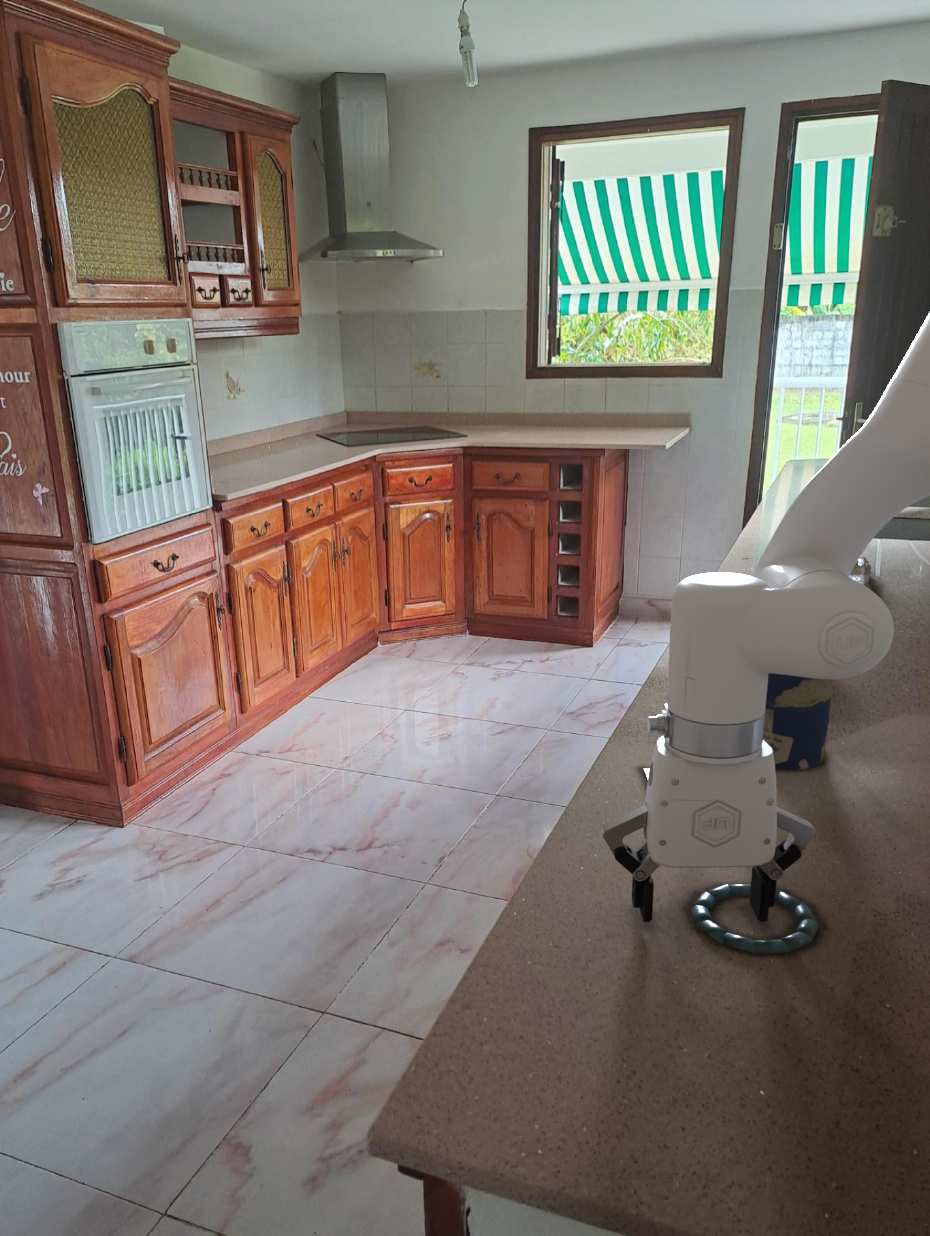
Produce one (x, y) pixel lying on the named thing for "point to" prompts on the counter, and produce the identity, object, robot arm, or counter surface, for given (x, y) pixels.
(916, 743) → the counter surface
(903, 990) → the counter surface
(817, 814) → the counter surface
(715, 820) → the robot arm
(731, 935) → the ring
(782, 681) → the canister
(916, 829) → the counter surface
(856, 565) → the foil wrapped parcel
